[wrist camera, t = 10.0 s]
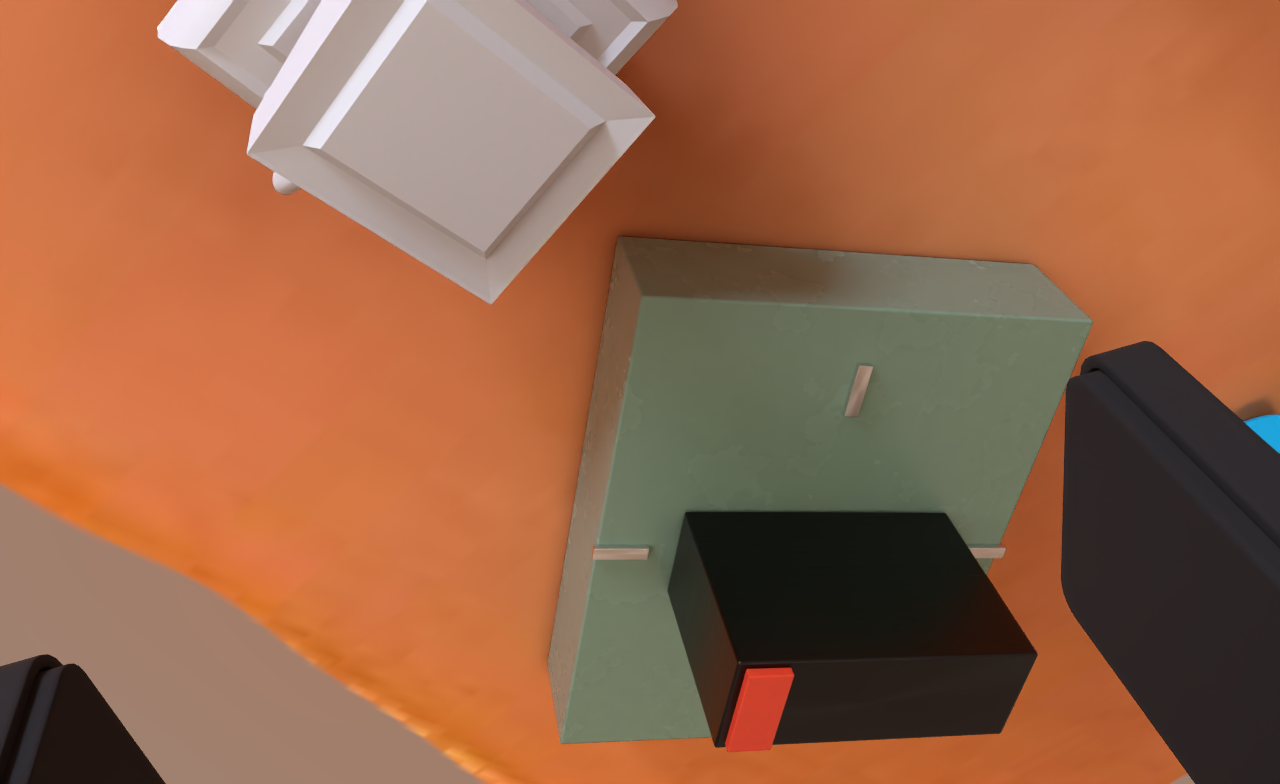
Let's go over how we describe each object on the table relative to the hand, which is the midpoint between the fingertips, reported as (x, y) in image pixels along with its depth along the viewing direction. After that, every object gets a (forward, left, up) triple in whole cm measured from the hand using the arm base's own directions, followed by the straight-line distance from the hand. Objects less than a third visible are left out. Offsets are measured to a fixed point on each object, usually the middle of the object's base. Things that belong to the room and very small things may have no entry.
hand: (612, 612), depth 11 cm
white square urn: (+1, -2, -16) cm, 16 cm away
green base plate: (-5, +13, -16) cm, 21 cm away
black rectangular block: (-5, +13, -13) cm, 19 cm away
